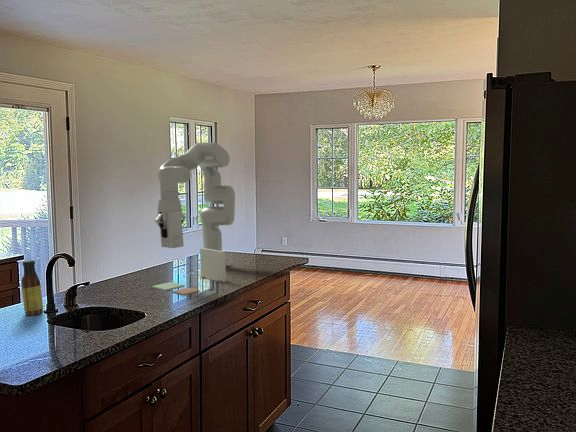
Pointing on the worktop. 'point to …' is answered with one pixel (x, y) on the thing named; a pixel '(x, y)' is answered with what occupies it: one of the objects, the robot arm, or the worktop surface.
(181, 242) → the skincare box
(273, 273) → the worktop surface
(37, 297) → the sauce bottle
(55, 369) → the worktop surface
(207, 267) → the screen
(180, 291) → the terracotta tile
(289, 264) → the worktop surface
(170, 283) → the green pad
